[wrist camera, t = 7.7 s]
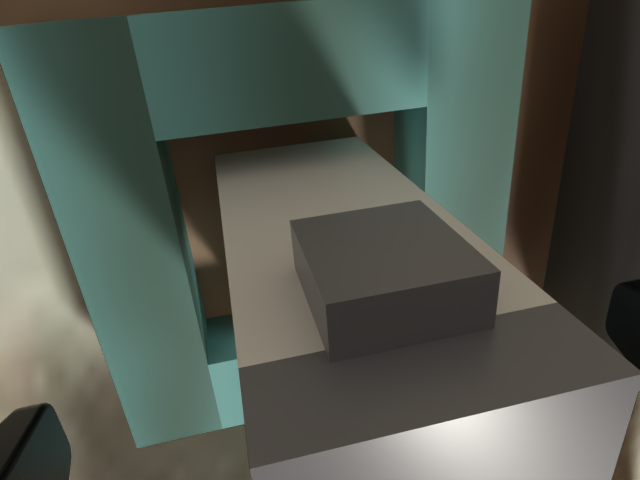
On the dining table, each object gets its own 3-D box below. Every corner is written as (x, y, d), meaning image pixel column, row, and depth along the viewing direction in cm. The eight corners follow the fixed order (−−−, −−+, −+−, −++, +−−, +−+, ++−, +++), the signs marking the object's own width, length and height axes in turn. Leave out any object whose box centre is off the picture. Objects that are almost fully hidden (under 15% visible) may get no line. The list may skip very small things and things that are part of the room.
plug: (236, 281, 13) (293, 684, 5) (209, 126, 11) (234, 404, 3) (361, 259, 14) (576, 593, 6) (355, 108, 12) (662, 310, 4)
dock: (138, 398, 15) (115, 554, 11) (-3, -29, 10) (-157, -55, 6) (754, 267, 19) (916, 344, 15) (892, -89, 14) (1208, -131, 10)
